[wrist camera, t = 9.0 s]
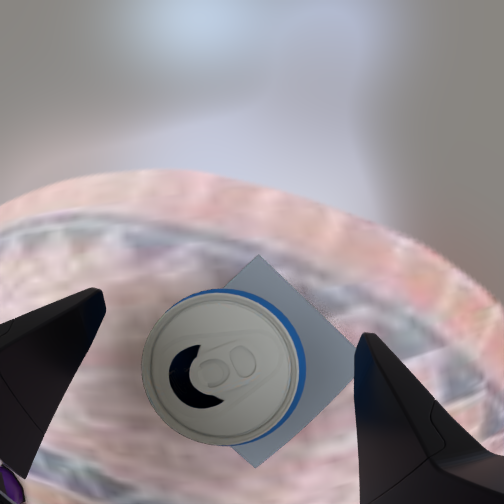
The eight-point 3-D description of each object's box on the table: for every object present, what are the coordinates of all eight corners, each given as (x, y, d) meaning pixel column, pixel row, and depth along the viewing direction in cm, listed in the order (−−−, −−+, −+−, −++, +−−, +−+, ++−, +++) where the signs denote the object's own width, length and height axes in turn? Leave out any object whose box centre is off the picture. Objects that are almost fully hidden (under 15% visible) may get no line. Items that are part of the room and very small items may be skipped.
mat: (366, 360, 21) (368, 360, 20) (255, 465, 19) (255, 468, 18) (259, 256, 24) (258, 254, 24) (150, 357, 22) (147, 357, 21)
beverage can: (186, 337, 22) (109, 317, 10) (265, 305, 22) (266, 253, 11) (219, 415, 20) (171, 474, 8) (300, 383, 20) (339, 415, 9)
